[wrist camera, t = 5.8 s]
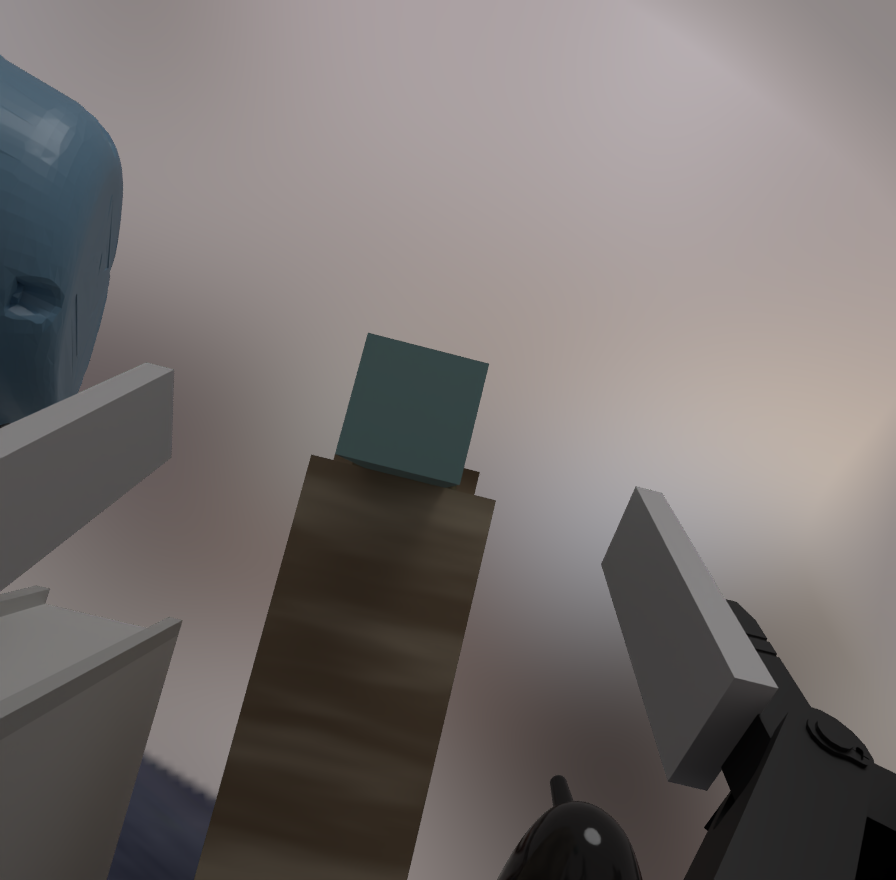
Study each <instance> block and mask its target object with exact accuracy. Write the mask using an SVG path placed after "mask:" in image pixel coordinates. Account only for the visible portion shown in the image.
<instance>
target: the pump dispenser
mask: <svg viewBox="0 0 896 880" xmlns="http://www.w3.org/2000/svg"><path fill="white" fill-rule="evenodd" d="M550 786H551V794H552V801H553V807H552V808H550V809H549V810H548V811H546V812H545V813H544V814H543V815H542V816H541V817H540V818H539V819H538V820H537V821H536V822H535V823H534V824H533V825H532V826H531V827H530V828H529V830H528V831H527V832H526V833H525V835H524V836H523V838H522V839H521V840H520V842H519V843H518V845H517V846H516V848H515V849H514V851H513V853H512V854H511V856H510V858H509V859H508V861H507V863H506V864H505V866H504V868H503V870H502V872H501V873H500V875H499V877H498V879H497V880H643V879H642V875H641V871H640V868H639V865H638V861H637V858H636V855H635V853H634V850H633V848H632V845H631V843H630V841H629V839H628V837H627V835H626V833H625V832H624V830H623V829H622V828H621V826H620V825H619V824H618V822H616V820H615V819H614V818H613V817H612V816H610V815H609V814H608V813H607V812H605V811H604V810H603V809H601V808H599V807H597V806H595V805H593V804H590V803H587V802H582V801H573V798H572V795H571V793H570V790H569V787H568V784H567V781H566V779H565V778H564V777H563V776H561V775H556V776H554V777H553V778H552V779H551V781H550Z"/></svg>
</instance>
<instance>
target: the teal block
mask: <svg viewBox="0 0 896 880" xmlns="http://www.w3.org/2000/svg"><path fill="white" fill-rule="evenodd" d="M488 366H489V364H488V363H484V362H480V361H476V360H472V359H468V358H464V357H461V356H457V355H453V354H449V353H445V352H441V351H437V350H433V349H429V348H425V347H422V346H417V345H414V344H409V343H406V342H402V341H398V340H394V339H390V338H386V337H382V336H379V335H374V334H371V333H368V335H367V339H366V342H365V346H364V350H363V353H362V357H361V361H360V364H359V368H358V372H357V376H356V379H355V383H354V386H353V390H352V394H351V397H350V401H349V405H348V409H347V413H346V416H345V420H344V423H343V427H342V431H341V434H340V438H339V442H338V446H337V449H336V453H335V454H336V455H339V456H341V457H343V458H345V459H347V460H349V461H351V462H353V463H355V464H357V465H359V466H361V467H364V468H367V469H371V470H375V471H379V472H383V473H387V474H391V475H395V476H399V477H403V478H407V479H411V480H415V481H419V482H423V483H427V484H431V485H435V486H440V487H444V488H446V487H451V486H456V485H460V482H461V477H462V473H463V469H464V465H465V461H466V457H467V453H468V449H469V445H470V440H471V436H472V432H473V428H474V424H475V420H476V416H477V412H478V407H479V403H480V399H481V395H482V391H483V387H484V382H485V379H486V374H487V370H488Z"/></svg>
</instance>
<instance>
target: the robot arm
mask: <svg viewBox="0 0 896 880" xmlns="http://www.w3.org/2000/svg"><path fill="white" fill-rule="evenodd" d="M122 198H123V179H122V168H121V162H120V158H119V156H118V152H117V149H116V147H115V144H114V142H113V140H112V139H111V137H110V135H109V133H108V132H107V131H106V130H105V129H104V128H103V127H102V125H101V124H100V123H99V122H98V120H97V119H96V118H95V117H94V116H93V115H91V114H90V113H89V112H88V111H86V110H85V109H84V107H82V106H81V105H80V104H79V103H77V102H76V101H74V100H73V99H71V98H69V97H68V96H66V95H64V94H63V93H61V92H59V91H58V90H56V89H54V88H53V87H51V86H49V85H47V84H46V83H44V82H42V81H41V80H39V79H37V78H35V77H34V76H32V75H31V74H29V73H27V72H25V71H24V70H22V69H20V68H19V67H17V66H15V65H14V64H12V63H10V62H9V61H7V60H5V59H4V58H3V57H2V56H1V55H0V591H2V590H3V589H4V588H5V587H7V586H8V585H9V584H10V583H12V582H13V581H14V580H16V579H17V578H18V577H19V576H21V575H22V574H23V573H24V572H26V571H27V570H28V569H30V568H31V567H32V566H33V565H35V564H36V563H37V562H38V561H40V560H41V559H42V558H44V557H45V556H46V555H47V554H49V553H50V552H51V551H53V550H54V549H55V548H56V547H58V546H59V545H60V544H61V543H63V542H64V541H65V540H67V539H68V538H69V537H71V536H72V535H73V534H74V533H75V532H77V531H78V530H79V529H81V528H82V527H83V526H85V525H86V524H87V523H88V522H90V521H91V520H92V519H93V518H95V517H96V516H97V515H99V513H101V512H102V511H104V510H105V509H106V508H107V507H109V506H110V505H111V504H113V503H114V502H115V501H116V500H118V499H119V498H120V497H122V496H123V495H124V494H125V493H126V492H128V491H129V490H130V489H132V488H133V487H134V486H136V485H137V484H138V483H139V482H141V481H142V480H143V479H145V478H146V477H147V476H148V475H150V474H151V473H152V472H153V471H155V470H156V469H157V468H159V467H160V466H161V465H162V464H164V463H165V462H166V461H168V460H169V459H170V458H171V455H172V453H171V452H172V420H173V388H174V369H170V368H166V367H162V366H158V365H154V364H150V363H147V362H146V363H144V364H142V365H140V366H137V367H135V368H133V369H131V370H129V371H126V372H124V373H122V374H120V375H118V376H115V377H113V378H111V379H109V380H106V381H104V382H102V383H100V384H97V385H95V386H93V387H91V388H89V389H86V390H84V391H82V392H80V393H78V391H79V388H80V386H81V384H82V380H83V376H84V374H85V372H86V369H87V367H88V364H89V361H90V358H91V354H92V351H93V347H94V343H95V340H96V336H97V333H98V330H99V327H100V323H101V319H102V315H103V311H104V307H105V302H106V298H107V291H108V286H109V278H110V270H111V267H112V264H113V261H114V258H115V254H116V248H117V243H118V235H119V229H120V221H121V210H122ZM77 393H78V394H77ZM601 565H602V569H603V571H604V575H605V578H606V581H607V585H608V587H609V591H610V595H611V598H612V601H613V604H614V608H615V611H616V614H617V617H618V620H619V624H620V627H621V630H622V633H623V636H624V640H625V643H626V647H627V650H628V653H629V656H630V660H631V663H632V666H633V670H634V673H635V676H636V679H637V682H638V686H639V689H640V692H641V696H642V699H643V702H644V705H645V709H646V712H647V715H648V718H649V721H650V725H651V728H652V731H653V735H654V738H655V741H656V744H657V748H658V751H659V754H660V757H661V761H662V764H663V767H664V770H665V774H666V777H667V780H668V781H669V782H673V783H677V784H681V785H685V786H689V787H694V788H698V789H703V790H706V791H707V790H708V789H709V787H710V786H711V784H712V783H713V781H714V780H715V779H716V777H717V776H718V774H719V773H720V771H721V770H722V771H723V773H724V776H725V778H726V781H727V783H728V785H729V788H730V790H731V791H730V792H729V794H728V795H727V797H726V798H725V799H724V801H723V802H722V804H721V805H720V806H719V808H718V809H717V811H716V812H715V813H714V815H713V816H712V817H711V819H710V820H709V821H708V823H707V824H706V825H705V827H704V828H705V829H706V830H707V831H708V832H707V834H706V836H705V838H704V840H703V842H702V844H701V846H700V848H699V850H698V852H697V854H696V856H695V858H694V860H693V862H692V864H691V866H690V868H689V870H688V872H687V874H686V876H685V878H684V880H896V774H895V773H893V772H891V771H889V770H887V769H885V768H883V767H881V766H878V765H877V764H875V763H874V760H873V758H872V756H871V755H870V753H869V751H868V749H867V748H866V746H865V745H864V744H863V743H862V742H861V741H860V739H859V738H858V737H857V736H856V735H855V734H854V733H853V732H852V731H851V730H849V729H848V728H847V727H846V726H844V725H843V724H842V723H841V722H839V721H838V720H837V719H835V718H834V717H832V716H830V715H828V714H826V713H825V712H823V711H821V710H818V709H815V708H812V707H811V706H810V705H809V704H808V702H807V700H806V699H805V697H804V696H803V694H802V692H801V691H800V689H799V688H798V686H797V685H796V683H795V682H794V680H793V678H792V677H791V675H790V674H789V672H788V670H787V669H786V667H785V666H784V664H783V663H782V661H781V659H780V658H779V657H776V655H777V653H776V652H775V650H774V649H773V647H772V645H771V644H770V642H767V638H766V636H765V634H764V633H763V631H762V630H761V628H760V627H759V625H758V624H757V622H756V620H755V619H754V618H753V617H752V616H751V615H749V614H748V613H747V612H746V611H745V610H744V609H743V608H742V607H741V606H740V605H739V604H738V603H737V602H734V601H731V600H727V599H725V598H724V596H723V594H722V593H721V591H720V589H719V588H718V586H717V584H716V583H715V581H714V580H713V578H712V576H711V574H710V573H709V571H708V569H707V568H706V566H705V564H704V562H703V561H702V559H701V557H700V556H699V554H698V552H697V551H696V549H695V547H694V546H693V544H692V542H691V541H690V539H689V537H688V536H687V534H686V532H685V531H684V529H683V527H682V526H681V524H680V522H679V521H678V519H677V517H676V516H675V514H674V512H673V510H672V509H671V507H670V505H669V504H668V503H667V500H666V499H665V497H664V495H663V494H662V493H660V492H656V491H652V490H648V489H644V488H640V487H635V489H634V492H633V494H632V496H631V498H630V501H629V503H628V505H627V507H626V510H625V512H624V514H623V516H622V519H621V521H620V523H619V526H618V528H617V530H616V532H615V535H614V537H613V539H612V541H611V543H610V546H609V548H608V550H607V553H606V555H605V557H604V559H603V561H602V564H601Z"/></svg>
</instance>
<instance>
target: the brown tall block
mask: <svg viewBox="0 0 896 880" xmlns="http://www.w3.org/2000/svg"><path fill="white" fill-rule="evenodd" d="M337 446H338V445H337ZM478 477H479V472H477V471H473V470H469V469H465V468H464V469H463V473H462V477H461V482H460V485H456V486H451V487H446V488H444V487H440V486H435V485H431V484H427V483H423V482H419V481H415V480H411V479H407V478H403V477H399V476H395V475H391V474H387V473H383V472H379V471H375V470H371V469H367V468H364V467H361V466H359V465H357V464H355V463H353V462H351V461H349V460H347V459H345V458H343V457H341V456H339V455H336V454H335V457H334V460H331V459H327V458H323V457H319V456H314V455H311V458H310V462H309V465H308V469H307V472H306V476H305V480H304V483H303V487H302V491H301V494H300V498H299V501H298V505H297V509H296V512H295V516H294V520H293V523H292V527H291V530H290V534H289V538H288V541H287V545H286V549H285V552H284V556H283V560H282V563H281V567H280V570H279V574H278V578H277V581H276V585H275V589H274V592H273V596H272V599H271V603H270V607H269V610H268V614H267V618H266V621H265V625H264V628H263V632H262V636H261V639H260V643H259V647H258V650H257V654H256V657H255V661H254V665H253V669H252V672H251V676H250V679H249V683H248V686H247V690H246V694H245V697H244V701H243V705H242V708H241V712H240V715H239V719H238V723H237V726H236V730H235V734H234V737H233V741H232V745H231V748H230V752H229V755H228V759H227V763H226V766H225V770H224V774H223V777H222V781H221V784H220V788H219V792H218V795H217V799H216V803H215V806H214V810H213V813H212V817H211V821H210V824H209V828H208V832H207V835H206V839H205V842H204V846H203V850H202V853H201V857H200V861H199V864H198V868H197V871H196V875H195V879H194V880H407V878H408V873H409V869H410V865H411V861H412V856H413V852H414V847H415V843H416V839H417V835H418V831H419V826H420V822H421V818H422V813H423V809H424V805H425V801H426V797H427V792H428V788H429V783H430V779H431V775H432V770H433V766H434V762H435V758H436V754H437V749H438V745H439V741H440V737H441V732H442V728H443V724H444V720H445V715H446V711H447V707H448V702H449V698H450V694H451V690H452V685H453V681H454V677H455V672H456V668H457V664H458V660H459V656H460V651H461V647H462V642H463V639H464V634H465V630H466V626H467V621H468V617H469V612H470V609H471V604H472V600H473V595H474V591H475V587H476V583H477V579H478V574H479V570H480V566H481V562H482V557H483V553H484V549H485V545H486V540H487V536H488V531H489V527H490V523H491V519H492V515H493V510H494V506H495V502H496V501H495V500H492V499H487V498H484V497H480V496H476V495H474V494H475V489H476V485H477V481H478Z"/></svg>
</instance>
